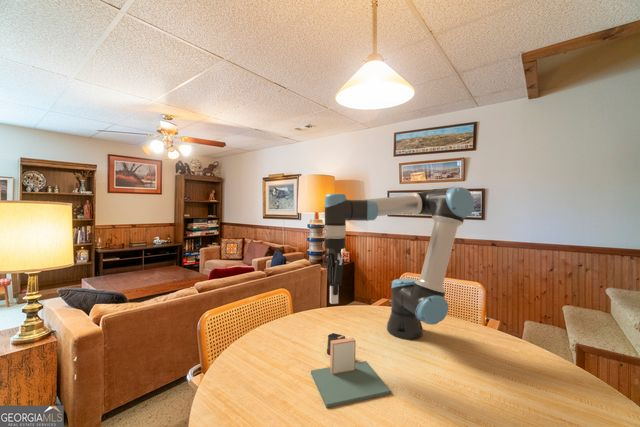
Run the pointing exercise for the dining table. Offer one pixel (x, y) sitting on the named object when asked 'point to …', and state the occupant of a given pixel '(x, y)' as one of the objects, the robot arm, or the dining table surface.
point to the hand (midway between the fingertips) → (333, 302)
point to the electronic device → (333, 337)
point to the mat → (349, 385)
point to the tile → (342, 355)
